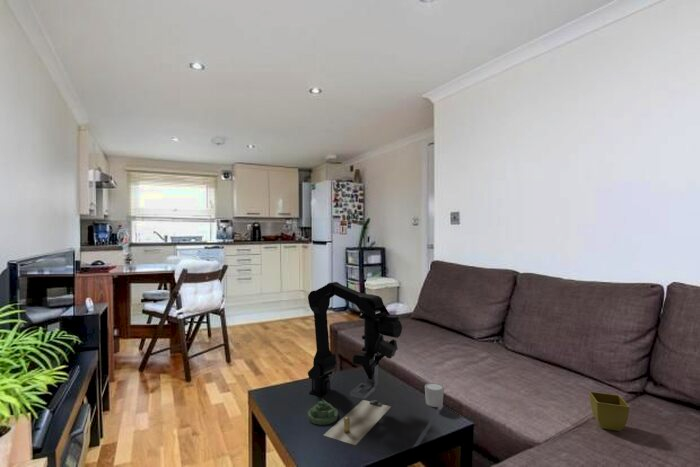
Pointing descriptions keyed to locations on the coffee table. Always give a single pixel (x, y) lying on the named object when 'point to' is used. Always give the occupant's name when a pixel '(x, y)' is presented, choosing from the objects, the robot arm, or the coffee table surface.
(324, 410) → the decorative artifact
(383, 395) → the coffee table surface
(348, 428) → the keeper post
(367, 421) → the tie-down board
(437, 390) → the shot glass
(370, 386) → the end link
